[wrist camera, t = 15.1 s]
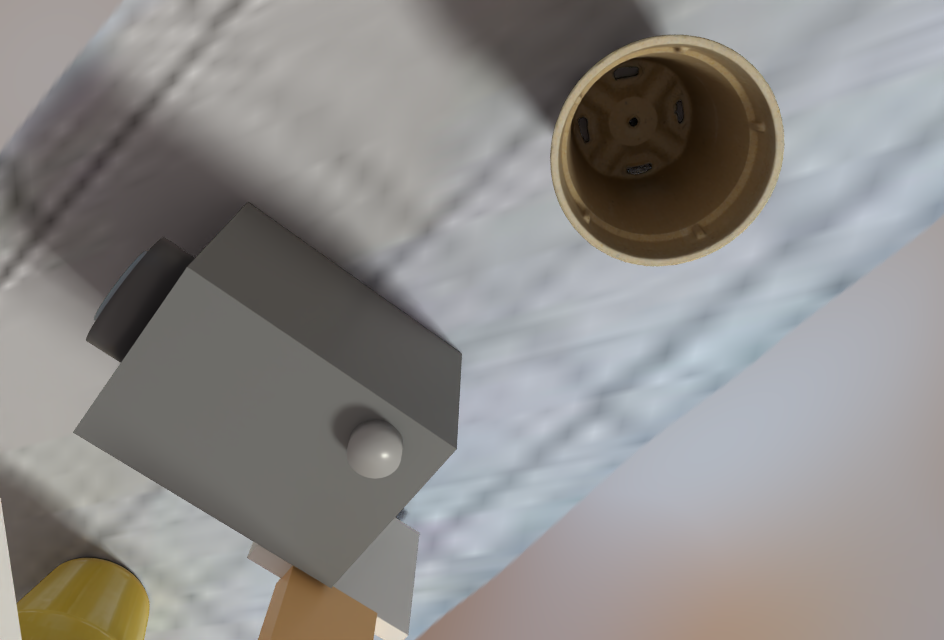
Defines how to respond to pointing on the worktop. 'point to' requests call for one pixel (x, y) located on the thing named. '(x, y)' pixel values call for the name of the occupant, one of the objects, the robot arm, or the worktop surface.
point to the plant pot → (85, 604)
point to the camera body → (273, 392)
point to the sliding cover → (345, 593)
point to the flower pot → (667, 150)
